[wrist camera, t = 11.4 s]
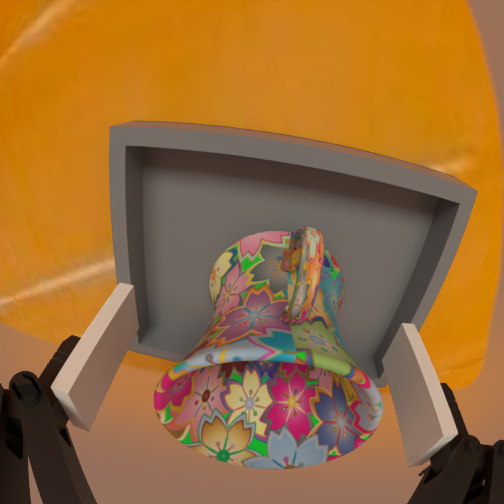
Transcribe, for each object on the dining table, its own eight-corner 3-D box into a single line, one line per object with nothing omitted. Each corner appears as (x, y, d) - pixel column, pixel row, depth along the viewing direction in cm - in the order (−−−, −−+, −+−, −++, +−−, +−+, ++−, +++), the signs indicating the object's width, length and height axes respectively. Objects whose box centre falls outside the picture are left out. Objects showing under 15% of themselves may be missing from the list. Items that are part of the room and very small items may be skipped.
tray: (142, 325, 24) (128, 350, 21) (134, 120, 17) (109, 126, 14) (378, 360, 24) (384, 387, 21) (453, 176, 16) (477, 191, 13)
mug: (324, 344, 22) (335, 474, 13) (202, 324, 22) (161, 450, 13) (378, 192, 17) (467, 304, 7) (218, 160, 17) (136, 246, 7)
